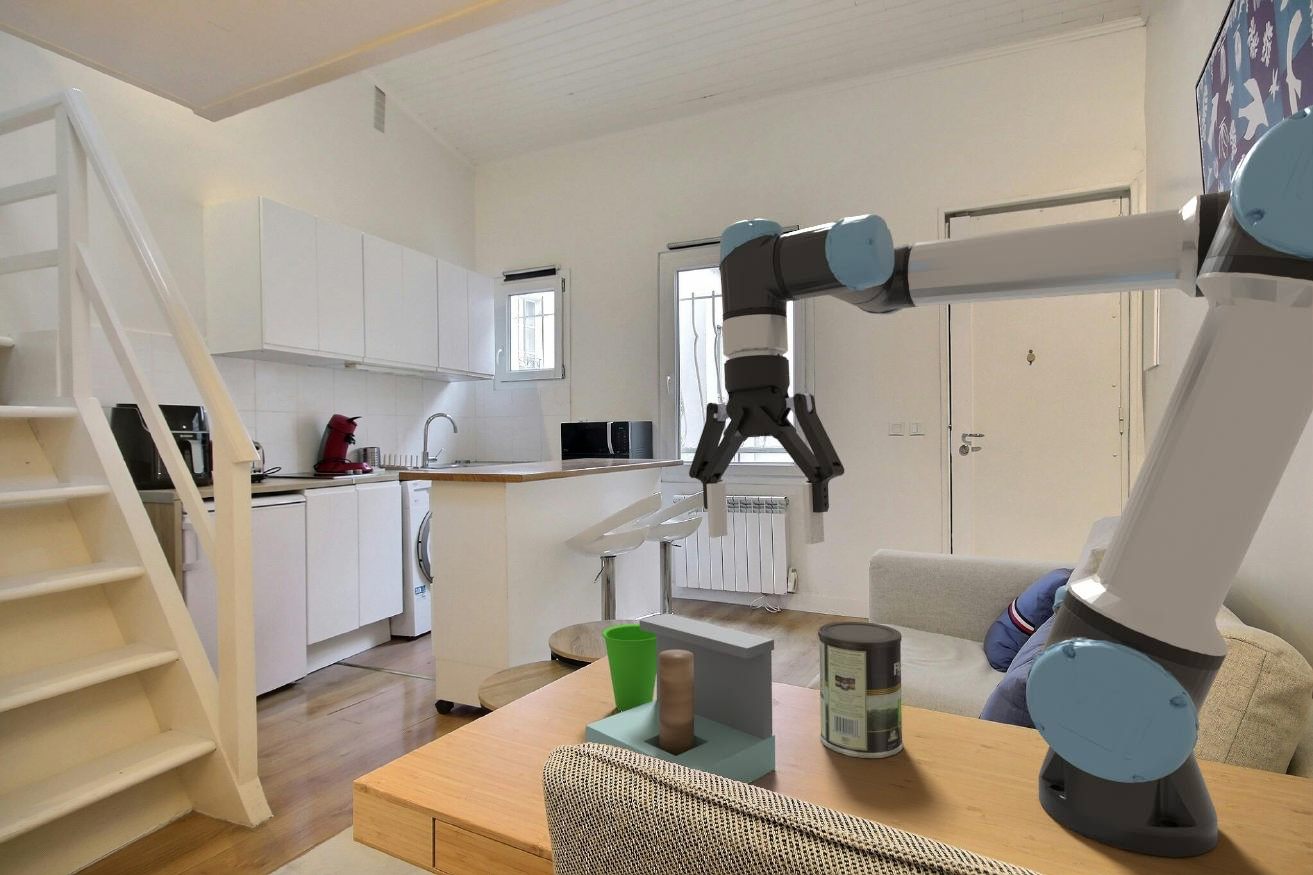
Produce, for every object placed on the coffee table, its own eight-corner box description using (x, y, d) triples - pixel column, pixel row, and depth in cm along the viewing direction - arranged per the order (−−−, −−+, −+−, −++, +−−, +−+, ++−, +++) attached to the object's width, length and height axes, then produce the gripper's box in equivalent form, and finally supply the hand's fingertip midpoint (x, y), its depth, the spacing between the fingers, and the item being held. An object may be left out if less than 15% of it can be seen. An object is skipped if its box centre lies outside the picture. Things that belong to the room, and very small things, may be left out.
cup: (665, 719, 97) (664, 640, 97) (599, 720, 97) (599, 640, 97) (665, 696, 106) (664, 623, 106) (605, 696, 106) (604, 623, 106)
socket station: (775, 769, 82) (773, 639, 82) (693, 813, 72) (692, 666, 72) (667, 725, 95) (666, 613, 95) (586, 758, 85) (585, 633, 85)
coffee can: (896, 727, 93) (895, 622, 93) (908, 762, 83) (907, 644, 83) (818, 722, 95) (816, 619, 95) (820, 755, 85) (819, 640, 85)
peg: (701, 776, 80) (700, 654, 80) (677, 788, 77) (676, 662, 77) (676, 765, 83) (676, 647, 83) (652, 776, 80) (651, 654, 80)
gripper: (870, 345, 75) (879, 541, 75) (696, 371, 93) (702, 531, 92) (834, 338, 70) (844, 550, 69) (657, 367, 88) (663, 537, 87)
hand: (763, 539), depth 81 cm, fingers open, 13 cm apart
